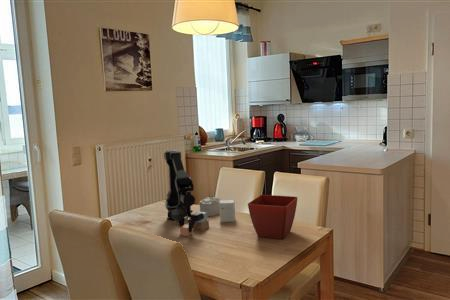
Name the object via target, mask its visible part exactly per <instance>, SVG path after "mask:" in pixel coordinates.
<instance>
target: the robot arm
mask: <svg viewBox="0 0 450 300" xmlns="http://www.w3.org/2000/svg"><path fill="white" fill-rule="evenodd" d="M163 159H164V161H165V163H166V164H167V166H168V184H169V185H168V186H169V191H168V192H167V194H166V199H165V202H164V205H165V209H166V210H167V217H166V220H170V221H176V222H177V224H178V226H179V228H180V227H181V226H183V225H184V217H188V220H187V222H188V225H189V232H190V233H191V232H192V229H193V226H194V224H195V222H196V221H200V220H202V219H204V214H203V213H199V212H200V211H196V212H194V213H193V210H192V206H193V205H195V202H196V198H195V196H194V195H193V194H192V191H194V189H195V186H194V184H193V183H194V182H193V180H192V178H191V177H190V175H189V173H188V172H187V171H186V170H185V168H184V165H183V161H182V152H181V151H178V150H177V149H171V150H165V152H164V153H163ZM193 230H194V229H193Z"/></svg>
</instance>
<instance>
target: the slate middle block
mask: <svg viewBox="0 0 450 300" xmlns="http://www.w3.org/2000/svg"><path fill="white" fill-rule="evenodd" d="M198 212H199V213H203V214H204V219H202V220H200V221H196V222H199V223H202V222H204V221H206V220H208V216H207V213H206V212H200V211H198Z"/></svg>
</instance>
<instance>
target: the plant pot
mask: <svg viewBox="0 0 450 300" xmlns="http://www.w3.org/2000/svg"><path fill="white" fill-rule="evenodd" d="M297 205H298V196H292V195H291V196H289V195H278V194H277V195H274V194H260V195H258V196H257V197H256V198H254V199H253V200H251V201H250V202H248V203H247V208H248V212H249V216H250V219H251V220H250V221H251V223H252V226H253V229H254V231H255V233H256V236H257V237H259V238H269V239H277V240H284V239H285V238H286V237H287V235H288V234H289V233H290V232H291V230H292V227H293V224H294V221H295V216H296V211H297Z"/></svg>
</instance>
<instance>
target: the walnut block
mask: <svg viewBox="0 0 450 300" xmlns="http://www.w3.org/2000/svg"><path fill="white" fill-rule="evenodd" d="M187 220H189V217H184V225H185V224H187V225H189V223H188V222H187Z"/></svg>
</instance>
